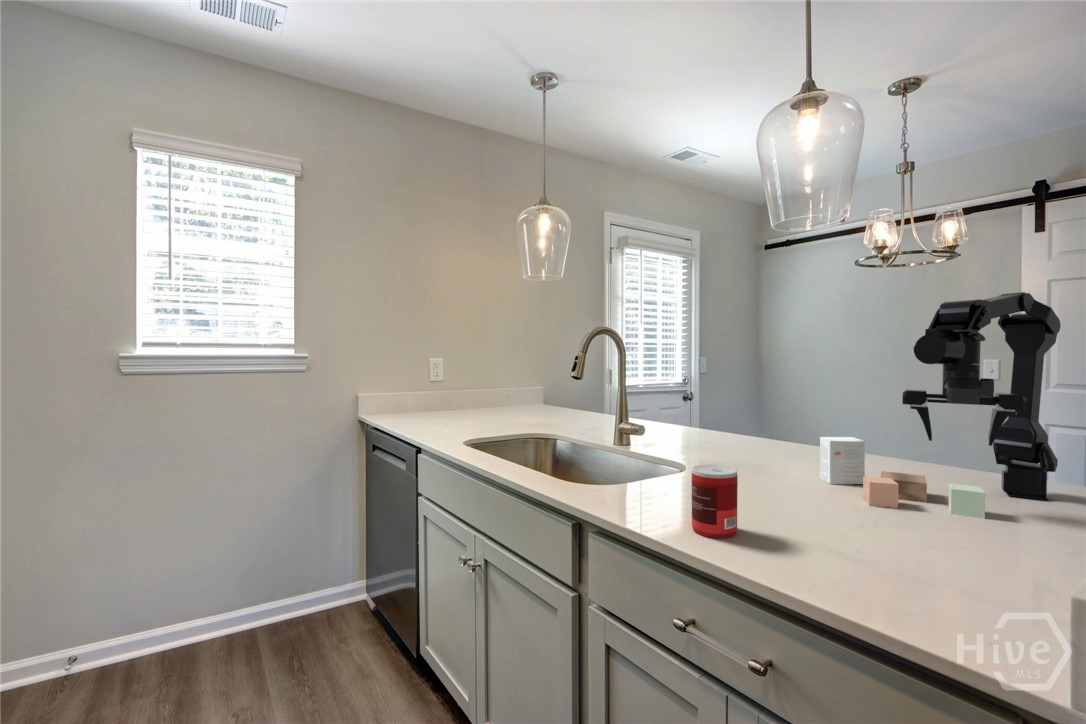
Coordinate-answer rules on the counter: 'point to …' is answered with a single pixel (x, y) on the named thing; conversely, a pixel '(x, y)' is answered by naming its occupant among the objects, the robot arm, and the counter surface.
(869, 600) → the counter surface
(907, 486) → the walnut block
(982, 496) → the sage cube
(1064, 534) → the counter surface
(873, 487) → the terracotta cube
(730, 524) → the canned food
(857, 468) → the small box
